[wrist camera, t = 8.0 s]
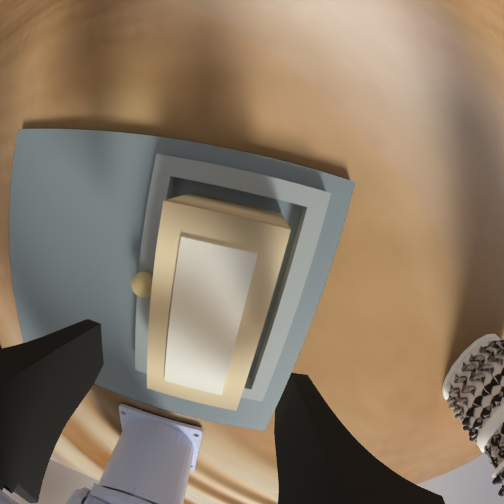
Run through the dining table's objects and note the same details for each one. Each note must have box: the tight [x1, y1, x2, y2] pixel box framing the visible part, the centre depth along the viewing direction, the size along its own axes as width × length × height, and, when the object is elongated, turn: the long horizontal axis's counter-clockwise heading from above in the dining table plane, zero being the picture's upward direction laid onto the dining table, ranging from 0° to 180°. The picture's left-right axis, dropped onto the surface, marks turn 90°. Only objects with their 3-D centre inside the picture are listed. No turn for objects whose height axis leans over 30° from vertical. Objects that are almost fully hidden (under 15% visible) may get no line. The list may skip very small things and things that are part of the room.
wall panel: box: [9, 129, 355, 431], centre depth 16 cm, size 20×24×3 cm
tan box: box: [147, 193, 291, 411], centre depth 14 cm, size 10×5×5 cm, turn 167°
